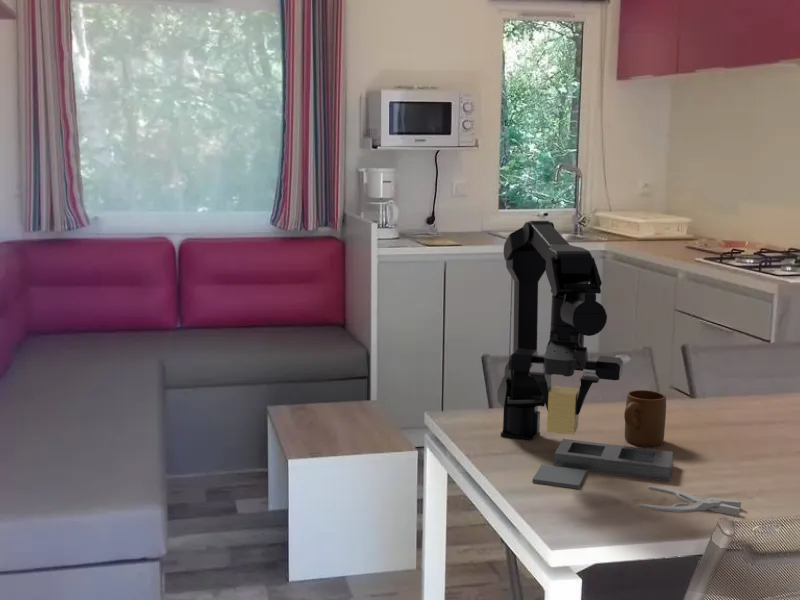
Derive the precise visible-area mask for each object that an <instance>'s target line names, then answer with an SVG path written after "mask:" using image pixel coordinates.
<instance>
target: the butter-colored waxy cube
mask: <svg viewBox="0 0 800 600" xmlns="http://www.w3.org/2000/svg"><path fill="white" fill-rule="evenodd" d="M579 389H580V387H579V388H577V387H571V386H560V385H553V386H551V390H550V391H549V396H548V411H547V422H546V424H547V425H546V427H547V428H546V432H547V433H555V434H564V435H570V436H571V435H572V436H573V435H575V433H576V432H577V430H578V428H579V419H580V418H579V415H580V414H579V415H577V414H576V409H577V401H578V395H579Z"/></svg>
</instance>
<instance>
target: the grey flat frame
mask: <svg viewBox="0 0 800 600" xmlns="http://www.w3.org/2000/svg"><path fill="white" fill-rule="evenodd" d="M673 461H674V452H673V451H669V450H660V449H652V448H651V449H650V448H644V447H643V448H642V447H635V446H626V445H617V444H609V443H602V442H593V441H592V442H591V441H586V440H585V441H584V440H576V439H567V438H563V439H562V441H561V442H560V444H559V446H558V447H557V449H556V450H555V451H554V461H553V463H554V464H553V466H557V467H565V468H573V469H580V470H586V472H595V473H602V474H610V475H617V476H624V477H632V478H633V477H634V478H640V479H641V478H642V479H647V480H654V481H656V480H657V481H665V482H669V481H670V477H671V472H672V468H673Z"/></svg>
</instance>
